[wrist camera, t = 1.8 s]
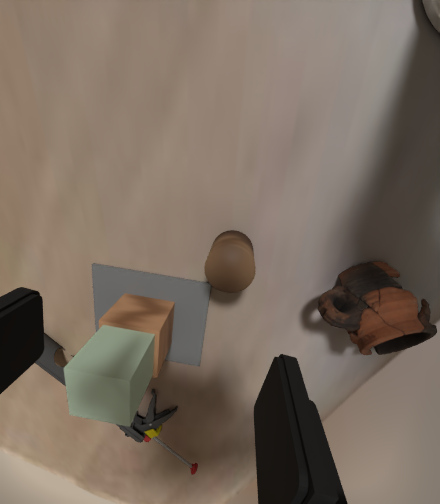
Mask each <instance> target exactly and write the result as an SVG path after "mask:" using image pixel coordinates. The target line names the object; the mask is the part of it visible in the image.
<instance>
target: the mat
mask: <svg viewBox="0 0 440 504" xmlns="http://www.w3.org/2000/svg"><path fill="white" fill-rule="evenodd" d="M92 278H93V294H94V309H95V325H96V332H97V331H98V330H99V319H100V318H101V317H102V316H103V315H104V314H105V313H106V312H107V311H108V310H109V309H110V308H111V307H112V306H113V305H114V304H115V303H116V302H117V301H118V300H119V299H120V298H121V297H122V296H123V295H124V294H125V293H127V294H132V295H138V296H144V297H149V298H155V299H161V300H166V301H172V302H175V307H174V319H173V332H172V343H171V345H170V348H169V350H168V353H167V355H166V357H165V360H167V361H172V362H178V363H183V364H188V365H194V366H200V359H201V352H202V345H203V338H204V331H205V324H206V317H207V310H208V303H209V296H210V289H211V284H210V283H205V282H200V281H194V280H188V279H182V278H176V277H170V276H165V275H159V274H153V273H147V272H141V271H135V270H130V269H124V268H118V267H112V266H106V265H101V264H95V263H93V264H92Z"/></svg>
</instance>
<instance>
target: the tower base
mask: <svg viewBox="0 0 440 504" xmlns="http://www.w3.org/2000/svg"><path fill="white" fill-rule="evenodd" d="M174 307H175V302H172V301H166V300H161V299H155V298H149V297H144V296H138V295H132V294H127V293H125V294H124V295H123V296H122V297H121V298H120V299H119V300H118V301H117V302H116V303H115V304H114V305H113V306H112V307H111V308H110V309H109V310H108V311H107V312H106V313H105V314H104V315H103V316H102V317H101V318H100V319H99V329H100V328H101V327H102V325H107V326H112V327H118V328H123V329H129V330H134V331H140V332H145V333H151V334H155V345H154V366H153V376H152V377H154V378H157V377H158V374H159V372H160V370H161V367H162V365H163V362H164V360H165V357H166V355H167V353H168V350H169V348H170V345H171V343H172V332H173V319H174Z"/></svg>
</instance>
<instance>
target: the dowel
mask: <svg viewBox="0 0 440 504" xmlns="http://www.w3.org/2000/svg"><path fill="white" fill-rule="evenodd" d="M205 275H206V278H207V280H208V281H209V283H210V284H211V285H212V286H213V287H214V288H216V289H218V290H220V291H222V292H227V293H235V292H239V291H242V290H244V289H245V288H247V287H248V286H249V285H250V284H251V283H252V281H253V279H254V276H255V261H254V253H253V246H252V243H251V241H250V239H249V238H248V237H247V236H246V235H245V234H243V233H241V232H239V231H226V232H223V233H222V234H220V235H219V236H218V237H217V238H216V239H215V241H214V243H213V245H212V248H211V250H210V253H209V255H208V257H207V260H206V263H205Z"/></svg>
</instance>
